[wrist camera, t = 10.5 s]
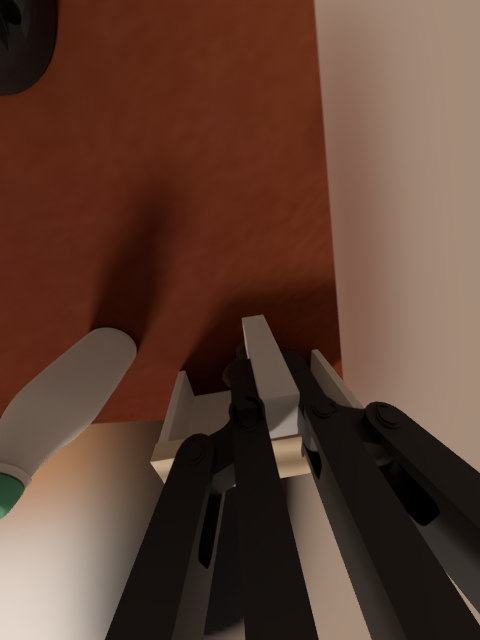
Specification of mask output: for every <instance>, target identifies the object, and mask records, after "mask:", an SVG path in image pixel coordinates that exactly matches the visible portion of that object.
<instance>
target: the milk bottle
mask: <svg viewBox="0 0 480 640" xmlns="http://www.w3.org/2000/svg"><path fill="white" fill-rule="evenodd" d="M136 354H137V349H136V345H135V342H134V341H133V339H132V338H131V337H130V336H129V335H127V334H126V333H124V332H123V331H121V330H118V329H114V328H107V327H106V328H99V329H95V330H93V331H91V332H90V333H89V334H87V335H86V336H85V337H83V338H82V339H81V340H80V341H78V342H77V343H76V344H75V345H74V346H72V347H71V348H70V349H69V350H67V351H66V352H65V353H64V354H63V355H61V356H60V357H59V358H58V359H56V360H55V361H54V362H53V363H52V364H50V365H49V366H48V367H47V368H46V369H44V370H43V371H42V372H41V373H40V374H38V375H37V376H36V377H35V378H34V379H33V380H32V381H31V382H29V383H28V384H27V385H26V386H25V387H24V388H23V389H22V390H21V391H20V392H19V393H18V394H17V395H16V396H15V397H14V399H13V400H12V401H11V402H10V404H9V405H8V407H7V408H6V410H5V412H4V413H3V415H2V417H1V420H0V519H1V518H3V517H4V516H5V515H6V514H7V513H8V512H9V511H10V510H11V509H12V508H13V506H14V505H15V504H16V503H17V501H18V500H19V498H20V497H21V495H22V494H23V492H24V490H25V488H26V487H27V486H29V485H30V483H31V480H32V479H31V477H32V475H33V474H34V473H35V472H36V470H37V469H38V468H39V467H40V466H41V465H43V464H44V462H46V461H47V460H48V459H49V458H50V457H51V456H52V455H54V454H55V453H56V452H57V451H58V450H60V449H61V448H63V447H64V446H65V445H67V444H68V443H69V442H71V441H72V440H73V439H75V438H76V437H77V436H78V435H80V434H81V433H82V432H83V431H84V430H85V429H86V428H87V427H88V426H89V425H90V424H91V422H92V421H93V420H94V419H95V418H96V416H97V415H98V413H99V412H100V411H101V409H102V408H103V406H104V405H105V403H106V402H107V400H108V399H109V397H110V396H111V394H112V393H113V391H114V390H115V388H116V387H117V385H118V384H119V382H120V381H121V379H122V378H123V376H124V375H125V373H126V372H127V370H128V368H129V367H130V365H131V364H132V362H133V360H134V359H135V357H136Z"/></svg>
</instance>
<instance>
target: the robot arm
mask: <svg viewBox="0 0 480 640" xmlns="http://www.w3.org/2000/svg"><path fill="white" fill-rule="evenodd" d="M54 39H55V4H54V0H0V96H4V95H12V94H17V93H20V92H22V91H24V90H26V89H28V88H30V87H31V86H32V85H33V84H35V83H36V82H37V81H38V80H39V78H40V77H41V76H42V74H43V73H44V71H45V69H46V67H47V65H48V63H49V60H50V57H51V54H52V50H53V45H54ZM242 323H243V331H244V338H245V346H246V352H247V356H248V359H242V360H236V361H232V363H231V365H230V368H229V372H230V387H231V401H232V402H231V403H230V405H229V411H228V413H229V417H230V420H229V421H228V423H227V424H226V425H225V426H224V427H223V428H221V429H220V430H218V431H216V432H215V433H213V434H211V435H209V436H208V435H206V434H203V433H198V434H193V435H191V436H189V437H188V438H187V439H186V440H185V441H184V442H183V443H181V445H180V447H179V449H178V451H177V453H176V456H175V458H174V461H173V463H172V466H171V469H170V471H169V474H168V476H167V479H166V482H165V484H164V487H163V490H162V492H161V495H160V497H159V500H158V503H157V506H156V508H155V510H154V513H153V516H152V518H151V521H150V523H149V526H148V529H147V531H146V534H145V536H144V539H143V542H142V545H141V547H140V549H139V552H138V555H137V557H136V560H135V562H134V565H133V568H132V570H131V573H130V575H129V578H128V581H127V583H126V586H125V589H124V591H123V594H122V596H121V599H120V602H119V604H118V607H117V609H116V612H115V615H114V617H113V620H112V622H111V625H110V628H109V630H108V633H107V636H106V638H105V640H203V633H204V627H205V620H206V614H207V607H208V601H209V595H210V588H211V581H212V576H213V569H214V563H215V556H216V549H217V543H218V537H219V530H220V524H221V518H222V511H223V505H224V498H225V492H226V491H227V490H228V489H230V488H231V487H233V486H234V485H236V499H237V515H238V531H239V546H240V562H241V577H242V593H243V609H244V624H245V640H319V639H318V635H317V630H316V626H315V622H314V618H313V614H312V610H311V605H310V601H309V597H308V593H307V589H306V584H305V580H304V576H303V572H302V568H301V563H300V559H299V555H298V551H297V547H296V542H295V538H294V534H293V530H292V526H291V522H290V518H289V513H288V509H287V505H286V501H285V496H284V493H283V488H282V484H281V480H280V475H279V471H278V467H277V463H276V459H275V455H274V450H273V446H272V442H271V438H277V437H282V436H288V435H294V434H298V429H299V432H300V434H301V437H302V444H301V455H302V458H303V457H305V456H306V459H307V462H308V465H309V467H310V470H311V473H312V475H313V478H314V481H315V484H316V486H317V489H318V492H319V495H320V498H321V500H322V503H323V506H324V509H325V511H326V514H327V517H328V520H329V522H330V525H331V528H332V531H333V533H334V536H335V539H336V542H337V544H338V547H339V550H340V553H341V556H342V558H343V561H344V564H345V567H346V569H347V572H348V575H349V578H350V580H351V583H352V586H353V589H354V591H355V594H356V597H357V599H358V602H359V605H360V608H361V610H362V613H363V616H364V619H365V621H366V625H367V627H368V630H369V633H370V635H371V638H372V640H480V625H479V624H478V622H477V621H476V619H475V618H474V616H473V614H472V613H471V611H470V610H469V608H468V607H467V605H466V603H465V602H464V600H463V599H462V597H461V596H460V594H459V592H458V591H457V589H456V588H455V586H454V585H453V583H452V582H451V580H450V578H451V579H452V580H453V581H454V582H455V584H456V585H457V586H458V588H459V589H460V590H461V591H462V593H463V594H464V595H465V596H466V598H467V599H468V600H469V601H470V603H471V604H472V605H473V606H474V608H475V609H476V610H477V611H478V612H479V614H480V473H479V472H478V471H476V470H475V469H474V468H473V467H471V466H470V465H469V464H468V463H466V462H465V461H464V460H463V459H461V458H460V457H459V456H458V455H456V454H455V453H454V452H453V451H451V450H450V449H449V448H448V447H446V446H445V445H444V444H443V443H441V442H440V441H439V440H437V439H436V438H435V437H434V436H432V435H431V434H430V433H429V432H427V431H426V430H425V429H424V428H422V427H421V426H420V425H419V424H417V423H416V422H415V421H413V420H412V419H411V418H409V417H408V416H407V415H406V414H405V413H403V412H402V411H401V410H399V409H398V408H396V407H394V406H392V405H390V404H387V403H384V402H373V403H370V404H369V405H367V406H366V409H360V408H352V407H346V406H342V405H339V404H337V403H336V402H335V401H334V400H332V399H331V398H329V397H327V396H326V395H325V393H324V392H323V390H322V388H321V387H320V385H319V384H318V382H317V380H316V379H315V377H314V375H313V374H312V372H311V370H310V369H309V367H308V365H307V364H306V362H305V360H304V359H303V357H302V356H301V355H300V354H299V353H297V352H296V351H295V350H293V351H287V352H280V350H279V348H278V345H277V343H276V341H275V339H274V337H273V335H272V332H271V330H270V328H269V326H268V324H267V322H266V320H265V317H264V315H257V316H251V317H245V318H242ZM444 570H445V571H446V572H445V571H444ZM446 573H447V574H448V575H449V576H450V578H449V577H448V575H447V574H446Z"/></svg>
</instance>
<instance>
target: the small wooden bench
mask: <svg viewBox="0 0 480 640" xmlns="http://www.w3.org/2000/svg"><path fill="white" fill-rule="evenodd" d="M310 370H311V372H312V374H313V375H314V377H315V379H316V380H317V382H318V384H319V385H320V387H321V388H322V390H323V392H324V393H325V395H326V396H327V397H329V398H331V399H332V400H334V401H335V402H336V403H337V404H339V405H342V406H346V407H352V408H360V409H366V408H363V406H362V405H361V404H360V403H359V401H358V400H357V399H356V397H355V396H354V395H353V394H352V392H351V391H350V390H349V388H348V387H347V386H346V385H345V383H344V382H343V381H342V379H341V378H340V377H339V376H338V374H337V373H336V372H335V370H334V369H333V368H332V367H331V365H330V364H329V363H328V362H327V360H326V359H325V358H324V356H323V355H322V354H321V353H320V351H319V350H318V349H316V350H312V352H311V366H310ZM231 402H232V401H231V390H229V391H223V392H217V393H211V394H205V395H199V396H194V394H193V391H192V388H191V385H190V383H189V380H188V377H187V374H186V371H179V373H178V376H177V380H176V383H175V387H174V390H173V393H172V397H171V400H170V404H169V407H168V411H167V414H166V418H165V421H164V425H163V428H162V432H161V435H160V438H159V442H158V443H157V444H156V445H155V449H154V452H153V455H152V459H151V464H152V465H153V467H154V468H155V470H156V471H157V473H158V474H159V476H160V477H161V479H162V480H163V482H164V483H165V482H166V479H167V476H168V474H169V471H170V469H171V466H172V463H173V461H174V458H175V456H176V453H177V451H178V449H179V447H180V445H181V443H183V442H184V441H185V440H186V439H187V438H188V437H189V436H191V435H193V434H198V433H203V434H206V435H208V436H209V435H211V434H213V433H215V432H216V431H218V430H220V429H221V428H223V427H224V426H225V425H226V424H227V423H228V421H229V420H230V417H229V413H228V411H229V405H230V403H231ZM271 442H272V446H273V450H274V455H275V459H276V463H277V467H278V471H279V475H280V478H283V477H288V476H295V475H300V474H306V473H311V470H310V467H309V465H308V462H307V459H306V456H305V457H303V458H302V455H301V444H302V437H301V434H300V432H299V429H298V434H294V435H288V436H282V437H277V438H271ZM234 486H236V485H234Z"/></svg>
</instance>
